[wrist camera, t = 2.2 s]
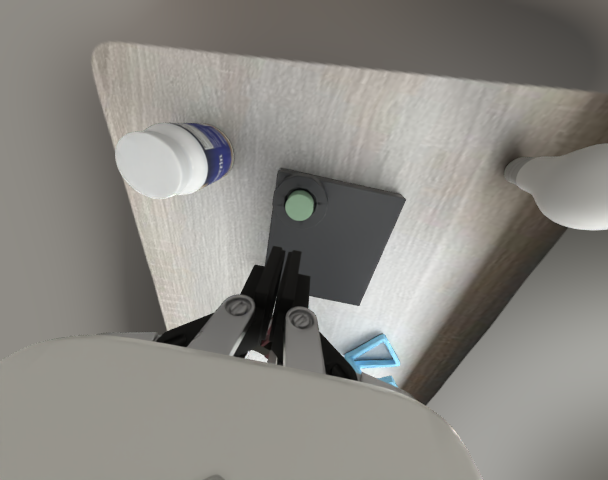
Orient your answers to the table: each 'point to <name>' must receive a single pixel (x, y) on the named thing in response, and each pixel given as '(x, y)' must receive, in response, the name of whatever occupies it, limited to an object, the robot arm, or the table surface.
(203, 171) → the pill bottle
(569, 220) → the lightbulb
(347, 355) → the chair
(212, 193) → the table surface
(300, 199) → the button
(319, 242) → the dark grey button base
